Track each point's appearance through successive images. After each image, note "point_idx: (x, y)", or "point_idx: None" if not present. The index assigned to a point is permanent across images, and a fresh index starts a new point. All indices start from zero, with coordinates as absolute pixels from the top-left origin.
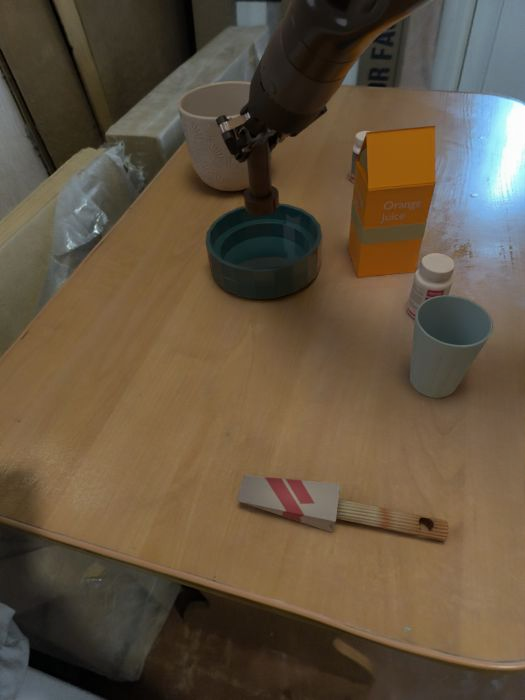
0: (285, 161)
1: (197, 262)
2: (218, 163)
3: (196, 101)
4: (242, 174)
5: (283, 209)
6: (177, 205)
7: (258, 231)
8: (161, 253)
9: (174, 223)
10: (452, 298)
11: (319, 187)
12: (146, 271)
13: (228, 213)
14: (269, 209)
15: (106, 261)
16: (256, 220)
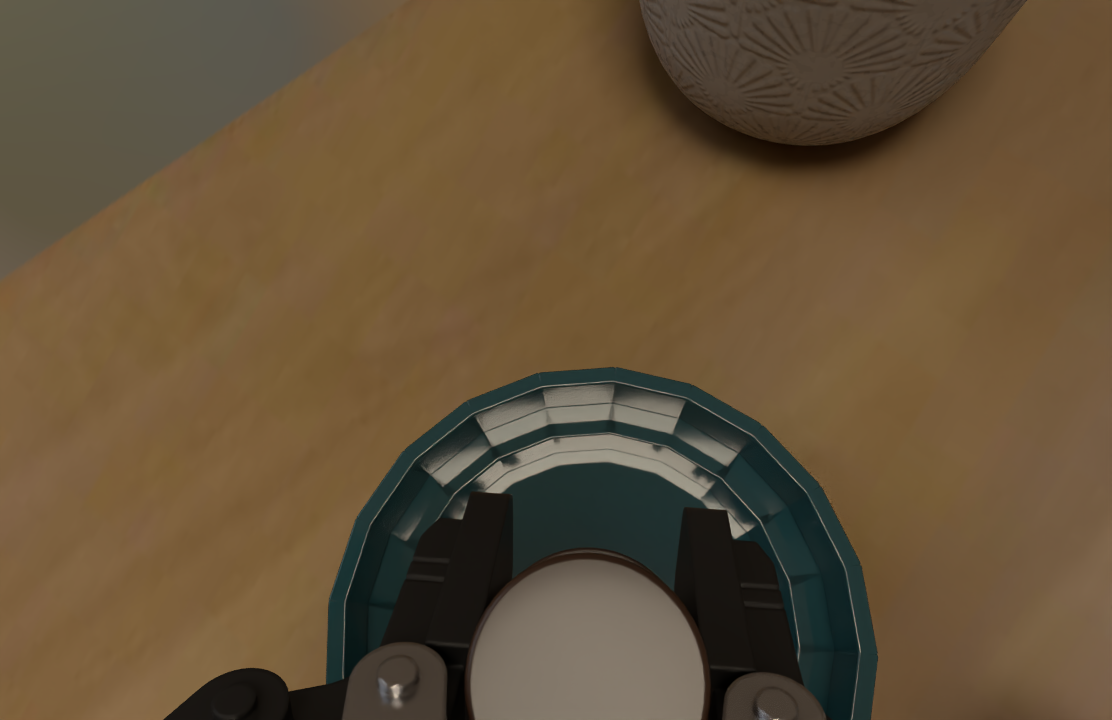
0: (1043, 48)
1: (396, 438)
2: (699, 44)
3: None
4: (783, 121)
5: (791, 487)
6: (519, 82)
7: (664, 456)
8: (322, 310)
9: (453, 175)
10: None
11: (1080, 290)
12: (227, 373)
13: (552, 383)
14: None
15: (154, 240)
16: (675, 424)
